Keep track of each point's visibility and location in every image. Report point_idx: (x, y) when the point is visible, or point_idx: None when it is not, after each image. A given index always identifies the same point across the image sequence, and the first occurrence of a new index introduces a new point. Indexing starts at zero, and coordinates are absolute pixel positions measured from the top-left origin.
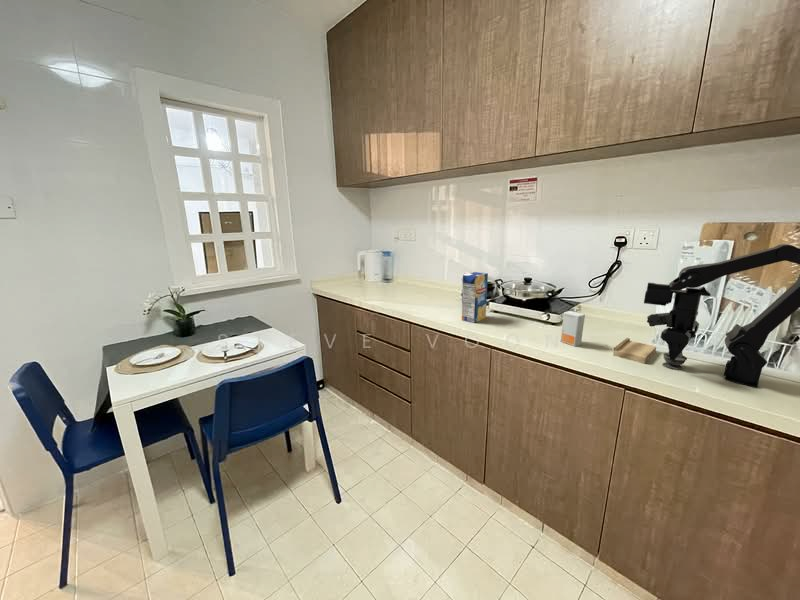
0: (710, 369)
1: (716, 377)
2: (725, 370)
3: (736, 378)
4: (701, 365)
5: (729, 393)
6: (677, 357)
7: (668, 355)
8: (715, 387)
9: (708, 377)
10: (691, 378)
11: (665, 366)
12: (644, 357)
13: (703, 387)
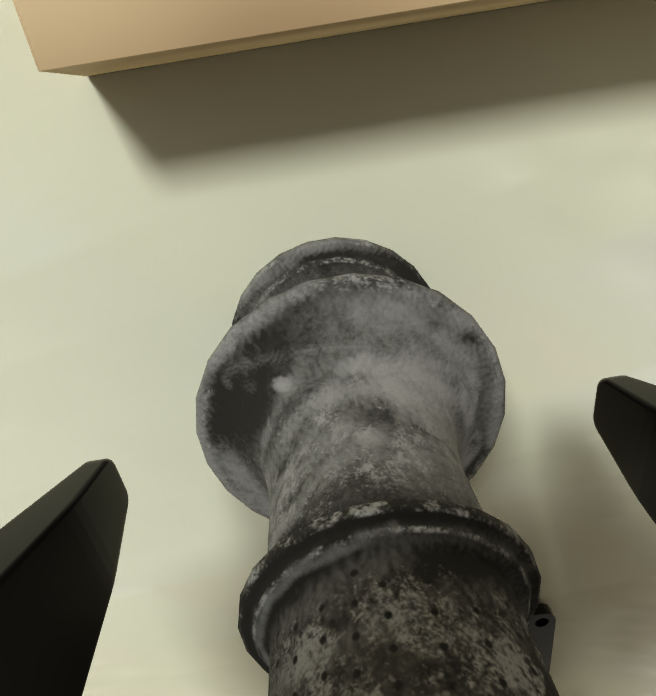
0: (547, 527)
1: None
2: None
3: None
4: (604, 467)
5: (148, 687)
6: (262, 492)
7: (247, 389)
8: (165, 636)
9: None
10: (174, 523)
11: (244, 303)
12: (40, 45)
13: None
